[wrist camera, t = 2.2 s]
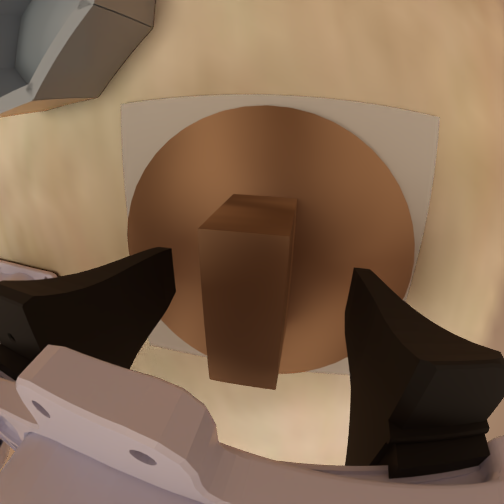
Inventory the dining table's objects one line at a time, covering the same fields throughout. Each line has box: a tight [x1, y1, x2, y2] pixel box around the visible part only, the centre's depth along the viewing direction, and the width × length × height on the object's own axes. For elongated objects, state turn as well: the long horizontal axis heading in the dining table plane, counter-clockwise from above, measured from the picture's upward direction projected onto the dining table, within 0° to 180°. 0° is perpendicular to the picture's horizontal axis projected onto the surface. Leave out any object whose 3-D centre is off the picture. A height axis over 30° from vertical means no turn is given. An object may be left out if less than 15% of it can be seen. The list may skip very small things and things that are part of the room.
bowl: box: [0, 0, 155, 118], centre depth 9 cm, size 11×11×4 cm
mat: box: [121, 94, 440, 375], centre depth 14 cm, size 14×14×1 cm
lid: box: [127, 105, 415, 390], centre depth 12 cm, size 13×13×5 cm
